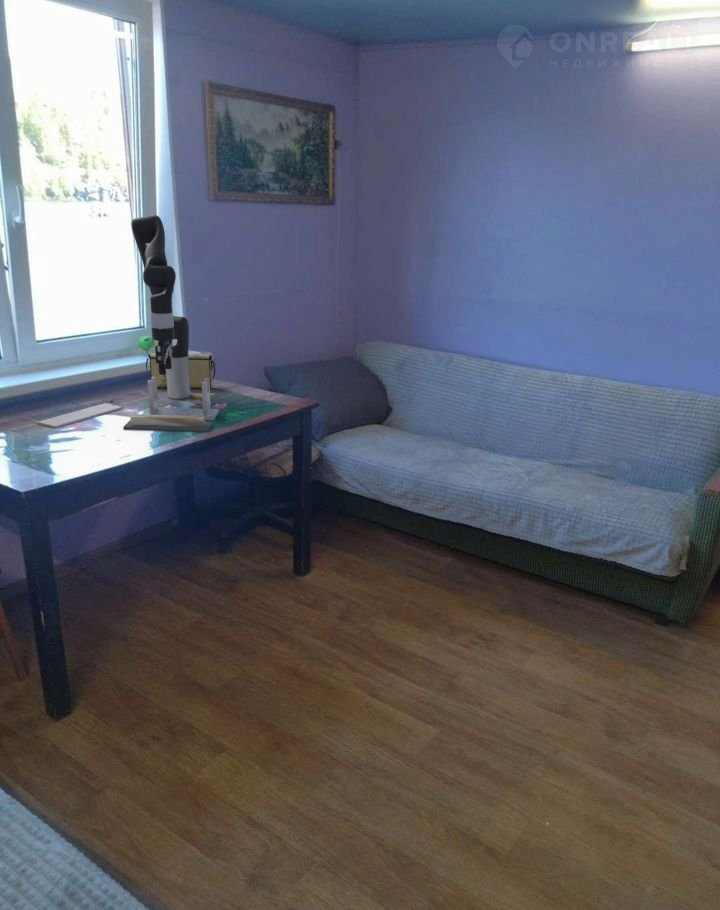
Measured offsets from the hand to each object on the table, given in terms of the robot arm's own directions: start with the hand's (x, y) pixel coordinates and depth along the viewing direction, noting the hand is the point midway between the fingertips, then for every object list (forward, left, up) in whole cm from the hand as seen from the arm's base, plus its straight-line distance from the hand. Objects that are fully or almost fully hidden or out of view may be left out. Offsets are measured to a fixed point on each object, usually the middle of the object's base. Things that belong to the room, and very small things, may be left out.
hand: (165, 371), depth 247 cm
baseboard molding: (-11, -36, -21) cm, 44 cm away
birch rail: (0, 0, -20) cm, 20 cm away
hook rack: (-15, +1, -21) cm, 25 cm away
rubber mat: (0, 0, -21) cm, 21 cm away
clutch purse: (-59, -9, -21) cm, 64 cm away
